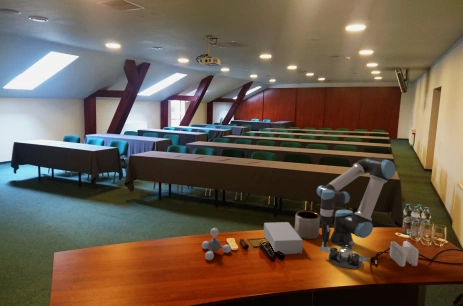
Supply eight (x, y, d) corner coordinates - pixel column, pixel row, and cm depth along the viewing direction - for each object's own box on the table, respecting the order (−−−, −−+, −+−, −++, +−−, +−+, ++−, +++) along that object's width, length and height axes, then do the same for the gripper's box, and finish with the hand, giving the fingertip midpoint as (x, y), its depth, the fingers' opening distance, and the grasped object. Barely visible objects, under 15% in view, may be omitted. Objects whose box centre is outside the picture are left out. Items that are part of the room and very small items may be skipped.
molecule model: (202, 269, 201) (214, 251, 190) (190, 248, 208) (201, 230, 197) (225, 259, 214) (238, 242, 203) (213, 240, 222) (225, 222, 211)
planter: (319, 232, 245) (321, 212, 242) (317, 241, 229) (319, 220, 226) (296, 228, 251) (297, 209, 248) (292, 237, 234) (294, 216, 232)
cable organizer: (418, 268, 195) (420, 251, 193) (401, 268, 195) (403, 250, 193) (403, 256, 210) (406, 240, 208) (388, 256, 209) (390, 239, 207)
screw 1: (350, 256, 205) (351, 247, 204) (343, 254, 208) (344, 245, 207) (354, 250, 214) (355, 241, 213) (347, 248, 216) (348, 239, 215)
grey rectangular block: (337, 257, 203) (338, 248, 202) (335, 260, 199) (336, 251, 198) (321, 253, 208) (322, 244, 207) (319, 255, 204) (320, 247, 203)
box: (288, 234, 240) (288, 222, 238) (301, 253, 210) (302, 239, 209) (263, 235, 237) (264, 222, 235) (274, 254, 208) (274, 240, 206)
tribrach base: (321, 256, 206) (322, 245, 205) (344, 250, 216) (345, 239, 214) (345, 272, 189) (347, 259, 188) (369, 264, 198) (370, 252, 197)
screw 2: (350, 265, 194) (351, 255, 193) (351, 261, 198) (351, 252, 197) (369, 268, 191) (370, 259, 190) (369, 265, 195) (370, 255, 194)
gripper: (335, 218, 193) (333, 255, 196) (329, 212, 206) (327, 247, 209) (323, 218, 193) (320, 255, 196) (318, 211, 206) (316, 246, 209)
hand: (324, 251), depth 203 cm, fingers closed
